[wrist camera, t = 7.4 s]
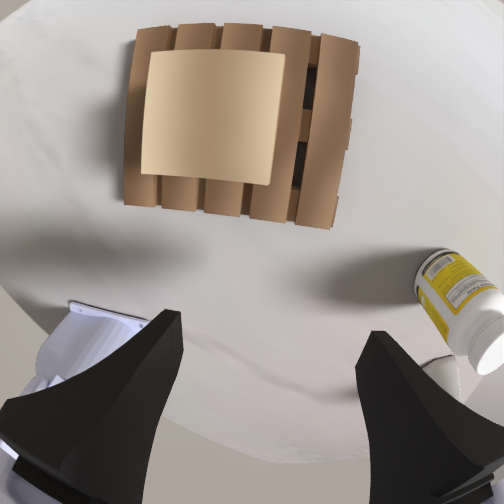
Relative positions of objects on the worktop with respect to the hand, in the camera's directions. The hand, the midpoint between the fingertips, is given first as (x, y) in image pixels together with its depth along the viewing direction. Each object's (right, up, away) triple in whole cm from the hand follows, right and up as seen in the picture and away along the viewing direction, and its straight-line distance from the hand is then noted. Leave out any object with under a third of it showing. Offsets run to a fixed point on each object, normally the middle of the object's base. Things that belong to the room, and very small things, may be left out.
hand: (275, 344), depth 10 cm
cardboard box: (-2, +11, +4) cm, 12 cm away
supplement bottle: (+15, +1, +10) cm, 18 cm away
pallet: (-2, +12, +6) cm, 13 cm away
